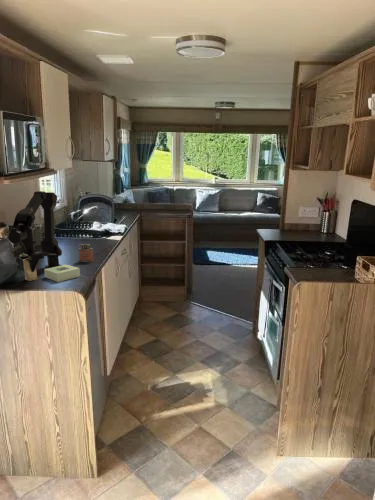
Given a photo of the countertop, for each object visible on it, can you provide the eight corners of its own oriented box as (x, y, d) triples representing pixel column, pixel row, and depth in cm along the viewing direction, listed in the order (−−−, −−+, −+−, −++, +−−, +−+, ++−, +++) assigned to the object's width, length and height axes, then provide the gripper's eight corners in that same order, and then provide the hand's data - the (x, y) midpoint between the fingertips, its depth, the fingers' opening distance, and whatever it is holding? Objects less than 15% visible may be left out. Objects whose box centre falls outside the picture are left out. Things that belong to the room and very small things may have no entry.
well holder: (45, 277, 187) (44, 269, 186) (66, 271, 196) (66, 264, 195) (57, 281, 179) (57, 273, 179) (80, 276, 188) (79, 268, 187)
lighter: (94, 260, 219) (92, 243, 216) (92, 261, 215) (91, 244, 213) (79, 260, 218) (78, 243, 216) (78, 262, 215) (77, 244, 213)
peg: (25, 279, 184) (23, 259, 182) (33, 277, 187) (31, 257, 185) (29, 281, 181) (27, 260, 179) (37, 279, 184) (35, 258, 182)
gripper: (1, 239, 180) (4, 271, 183) (19, 244, 168) (23, 278, 171) (24, 235, 188) (27, 266, 192) (43, 240, 176) (46, 273, 179)
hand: (30, 271), depth 183 cm, fingers closed on peg, 4 cm apart
